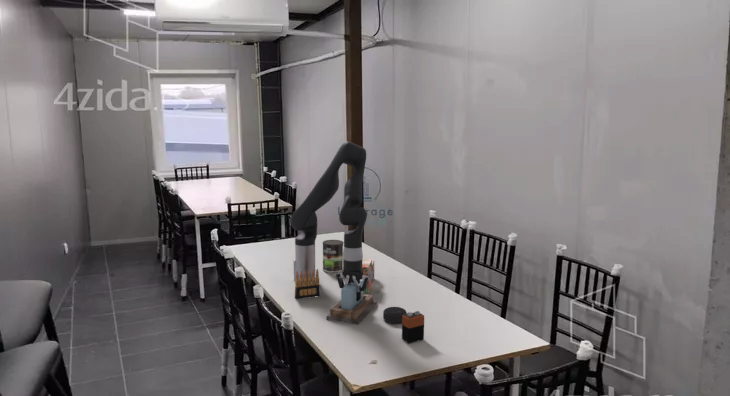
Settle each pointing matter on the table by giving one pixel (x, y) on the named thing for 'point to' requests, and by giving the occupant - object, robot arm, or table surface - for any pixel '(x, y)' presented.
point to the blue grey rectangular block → (350, 296)
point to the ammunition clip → (307, 285)
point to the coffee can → (333, 256)
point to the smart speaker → (394, 314)
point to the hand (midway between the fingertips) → (352, 299)
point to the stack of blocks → (368, 272)
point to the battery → (413, 327)
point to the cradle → (352, 311)
